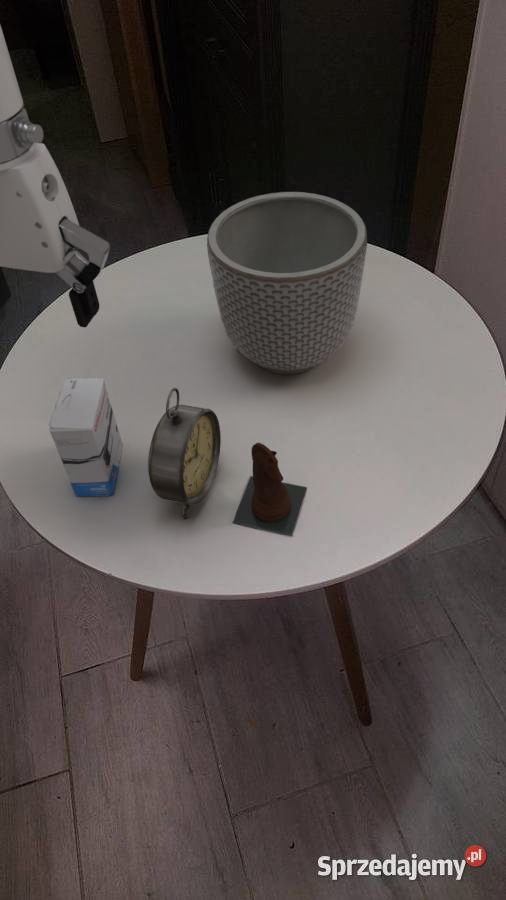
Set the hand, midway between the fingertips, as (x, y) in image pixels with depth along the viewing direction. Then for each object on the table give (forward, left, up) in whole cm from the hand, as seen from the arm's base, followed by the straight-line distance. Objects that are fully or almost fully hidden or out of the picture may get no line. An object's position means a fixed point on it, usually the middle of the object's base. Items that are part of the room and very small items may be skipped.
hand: (44, 311), depth 67 cm
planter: (+17, +27, -24) cm, 40 cm away
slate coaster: (+22, 0, -24) cm, 33 cm away
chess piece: (+22, 0, -24) cm, 33 cm away
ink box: (0, 0, -24) cm, 24 cm away
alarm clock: (+12, 0, -24) cm, 27 cm away
